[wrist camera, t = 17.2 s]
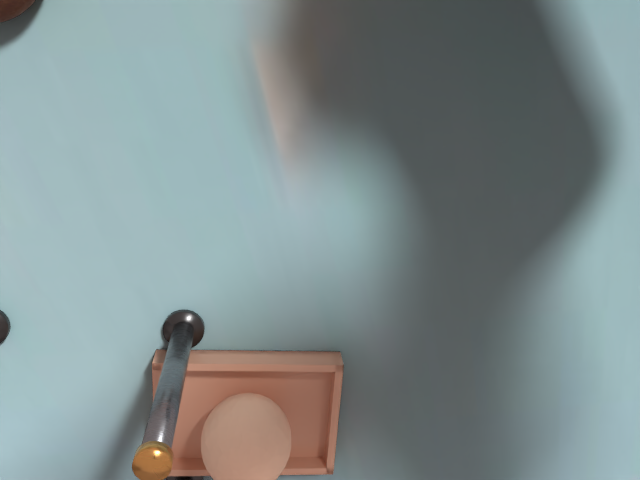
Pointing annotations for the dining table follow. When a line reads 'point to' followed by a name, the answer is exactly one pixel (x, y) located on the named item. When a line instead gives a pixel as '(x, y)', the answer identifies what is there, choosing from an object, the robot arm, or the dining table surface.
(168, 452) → the pole corner
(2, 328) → the pole
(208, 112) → the dining table surface
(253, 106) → the dining table surface
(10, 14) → the bread
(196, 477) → the pole
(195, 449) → the tray
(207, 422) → the egg
